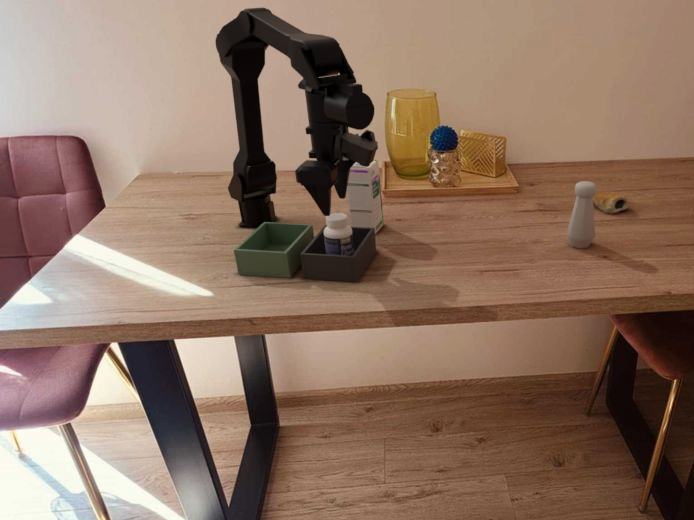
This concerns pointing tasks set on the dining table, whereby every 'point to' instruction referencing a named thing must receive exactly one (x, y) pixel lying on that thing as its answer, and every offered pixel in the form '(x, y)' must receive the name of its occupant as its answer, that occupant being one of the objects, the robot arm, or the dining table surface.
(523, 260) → the dining table surface
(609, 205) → the pastry
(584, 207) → the salt shaker
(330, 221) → the pill bottle
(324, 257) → the charcoal crate
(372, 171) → the syrup box
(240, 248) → the green bin
